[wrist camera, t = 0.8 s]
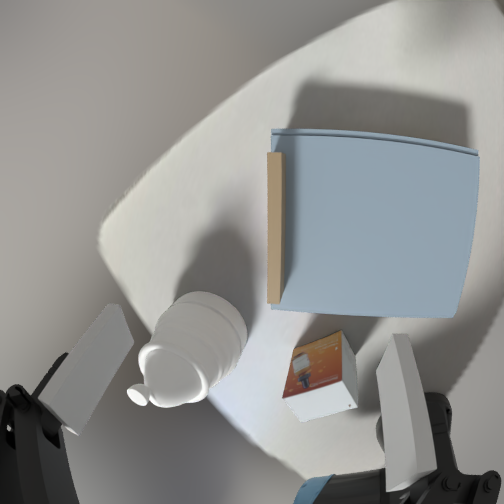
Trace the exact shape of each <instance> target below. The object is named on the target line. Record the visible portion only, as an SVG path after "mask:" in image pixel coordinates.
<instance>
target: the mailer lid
mask: <svg viewBox="0 0 504 504" xmlns="http://www.w3.org/2000/svg"><path fill="white" fill-rule="evenodd" d="M271 135H273V136H271V152H268V153H267V172H268V281H267V303H270V304H271V309H274V310H284V311H296V312H308V313H322V314H337V315H355V316H377V317H411V318H453V317H454V314H456V311H457V307H458V304H459V300H460V297H461V293H462V289H463V285H464V281H465V277H466V273H467V268H468V263H469V258H470V253H471V247H472V242H473V235H474V228H475V221H476V212H477V202H478V189H479V165H480V157H478V150H475V149H471V148H467V147H462V146H458V145H453V144H448V143H443V142H437V141H432V140H426V139H420V138H413V137H406V136H398V135H390V134H382V133H372V132H360V131H346V130H328V129H271Z"/></svg>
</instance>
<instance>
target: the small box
mask: <svg viewBox="0 0 504 504" xmlns="http://www.w3.org/2000/svg"><path fill="white" fill-rule="evenodd" d="M282 399H283V400H284V401H285V403H286V404H287V405H288V407H289V408H290V409H291V410H292V412H293V413H294V414H295V415H296V417H297V418H298V419H299V421H300V422H301V423H303V422H307V421H310V420H313V419H317V418H321V417H325V416H328V415H332V414H335V413H339V412H342V411H346V410H349V409H354V408H357V407H358V388H357V371H356V357H355V355H354V353H353V351H352V349H351V347H350V345H349V343H348V341H347V339H346V337H345V335H344V334H343V332H342V331H339V332H336V333H334V334H332V335H330V336H327V337H325V338H322V339H319V340H317V341H314V342H312V343H309V344H306V345H303V346H301V347H297V348H295V349H294V350H293V354H292V358H291V363H290V367H289V371H288V376H287V380H286V384H285V389H284V393H283V397H282Z"/></svg>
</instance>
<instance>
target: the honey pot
mask: <svg viewBox="0 0 504 504" xmlns="http://www.w3.org/2000/svg"><path fill="white" fill-rule="evenodd" d="M247 338H248V337H247V327H246V324H245V322H244V319H243V317H242V316H241V314H240V313H239V311H238V310H237V309H236V308H235V307H234V306H233V305H232V304H231V303H230V302H228V301H227V300H225V299H223V298H222V297H220V296H218V295H215V294H212V293H209V292H202V291H195V292H189V293H187V294H185V295H183V296H181V297H180V298H179V299H177V300H176V301H175V302H174V303H173V304H172V305H171V306H170V307H169V308H168V309H167V310H166V311H165V312H164V313H163V314H162V315H161V316H160V318H159V319H158V321H157V324H156V327H155V331H154V334H153V335H152V338H151V341H150V343H148V344H146V345H144V346H143V347H142V349H141V350H140V353H139V356H138V357H139V366H140V369H141V372H142V373H143V375H144V385H143V384H135V385H133V386H131V387H130V388H129V389H128V390H127V394H128V396H129V397H130V398H131V400H132V401H134V402H135V403H137V404H138V405H142V406H145V405H146V404H147V403H148V401H149V400H150V401H151V402H152V403H153V404H155V405H156V406H159V407H173V406H178V405H181V404H183V403H192V402H198V401H200V400H202V399H203V398H205V397H206V395H207V394H208V393H209V389H210V388H212V387H214V386H216V385H217V384H218V383H219V381H221V380H222V379H223V378H225V377H226V376H228V375H229V374H230V373H231V372H232V371H233V369H234V368H235V367H236V365H237V363H238V361H239V359H240V357H241V355H242V352H243V350H244V348H245V346H246V342H247ZM147 354H148V355H147ZM146 357H147V359H146Z"/></svg>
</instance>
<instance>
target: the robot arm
mask: <svg viewBox="0 0 504 504" xmlns="http://www.w3.org/2000/svg"><path fill="white" fill-rule="evenodd" d="M133 344H134V341H133V338H132V336H131V333H130V331H129V328H128V325H127V323H126V320H125V317H124V315H123V312H122V309H121V307H120V305H116V304H111V303H108V305H107V306H106V307H105V308H104V309H103V311H102V312H101V313H100V314H99V316H98V317H97V318H96V319H95V321H94V322H93V323H92V324H91V326H90V327H89V328H88V329H87V331H86V332H85V333H84V335H83V336H82V337H81V338H80V340H79V341H78V342H77V344H76V345H75V346H74V348H73V349H72V350H71V352H70V353H64V354H63V355H61V356H60V357H59V358H58V359H57V360H56V361H55V363H54V364H53V365H52V367H51V368H50V369H49V371H48V373H47V374H46V375H45V376H44V378H43V380H42V381H41V382H40V384H39V385H38V386H37V388H36V389H35V391H34V392H33V393H32V395H31V396H30V395H29V393H28V392H27V391H26V390H25V389H24V388H23V386H21V385H19V384H18V385H16V384H15V385H13V386H11V387H10V388H9V389H8V390H7V392H6V394H5V393H4V392H3V391H2V390H0V504H79V500H78V497H77V494H76V490H75V487H74V483H73V480H72V476H71V472H70V468H69V463H68V458H67V454H66V448H65V443H64V438H63V432H62V429H61V425H62V424H63V425H64V426H65V427H66V428H67V429H68V430H69V431H71V432H73V433H75V434H76V435H78V436H80V434H81V432H82V431H83V429H84V427H85V425H86V423H87V422H88V420H89V418H90V416H91V414H92V413H93V411H94V409H95V407H96V405H97V404H98V402H99V400H100V398H101V397H102V395H103V393H104V392H105V390H106V388H107V387H108V385H109V383H110V381H111V380H112V378H113V376H114V375H115V373H116V371H117V370H118V368H119V366H120V365H121V363H122V361H123V360H124V358H125V357H126V355H127V353H128V352H129V350H130V348H131V347H132V345H133ZM376 375H377V382H378V389H379V397H380V405H381V414H382V416H381V417H380V418H379V420H378V422H377V425H376V434H377V440H378V442H379V444H380V446H381V448H382V449H383V451H384V453H385V468H382V469H376V470H370V471H364V472H357V473H350V474H342V475H335V474H332V475H330V476H323V477H314V478H311V479H309V480H307V481H306V482H305V483H304V484H303V485H302V486H301V488H300V489H299V491H298V493H297V495H296V497H295V500H294V503H293V504H496V502H497V499H498V495H499V491H500V487H501V477H500V475H499V474H498V472H496V471H494V470H493V471H488V472H486V473H484V474H483V475H466V474H462V473H461V472H460V471H459V470H458V468H457V463H456V459H455V455H454V451H453V447H452V443H451V440H450V432H451V421H452V409H451V406H450V403H449V401H448V399H447V398H446V397H445V396H444V395H441V394H438V393H424V392H423V388H422V384H421V380H420V376H419V372H418V368H417V365H416V361H415V357H414V354H413V351H412V347H411V344H410V341H409V337H408V334H392V336H391V339H390V341H389V344H388V346H387V348H386V350H385V353H384V355H383V357H382V359H381V361H380V364H379V366H378V368H377V370H376ZM7 425H9V426H10V427H11V430H10V431H8V430H7Z"/></svg>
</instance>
